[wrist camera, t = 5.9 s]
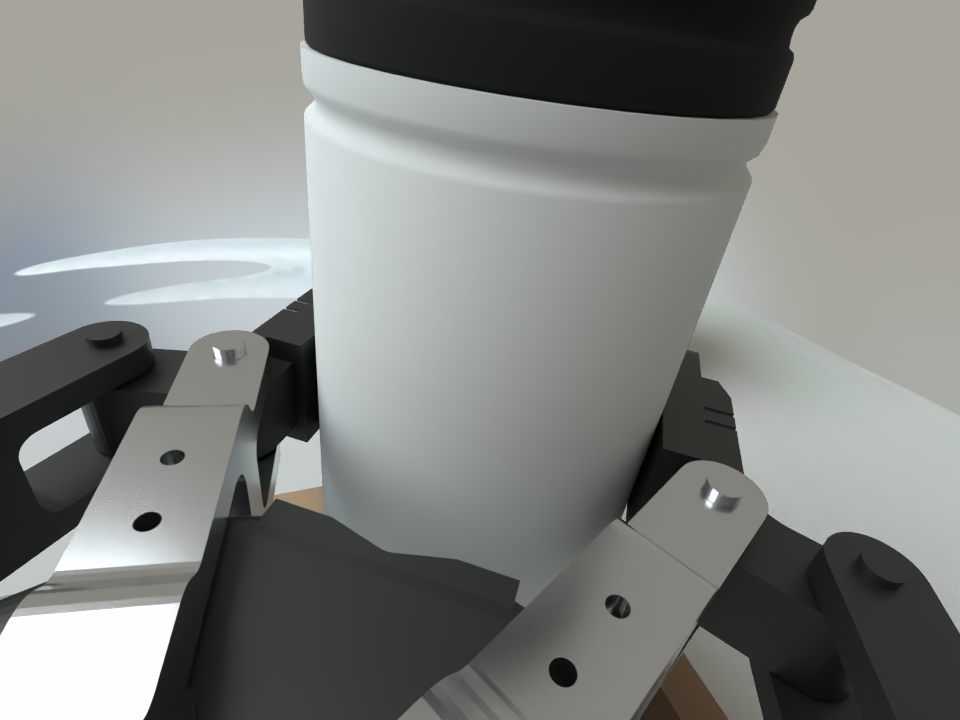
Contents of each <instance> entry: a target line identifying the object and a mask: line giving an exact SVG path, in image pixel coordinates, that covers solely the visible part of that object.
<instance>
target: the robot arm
mask: <svg viewBox="0 0 960 720" xmlns="http://www.w3.org/2000/svg"><path fill="white" fill-rule="evenodd" d="M79 408H81V409H82V411H83V414H84V417H85V420H86V423H87V426H88V428H89V431H90V433H89V434H87V435H85V436H83V437H82V438H80V439H78V440H77V441H75V442H73V443H72V444H70V445H68V446H67V447H65V448H63V449H62V450H60V451H58V452H57V453H55V454H53V455H51V456H50V457H48V458H46V459H45V460H43V461H41V462H40V463H38V464H36V465H35V466H33V467H31V468H30V469H28V470H26V471H23V469H22V467H21V465H20V462H19V457H18V456H19V451H20V448H21V446H22V445H23V443H24V442H25V441H26V440H27V439H28V438H29V437H30V436H31V435H32V434H34V433H35V432H37V431H39V430H41V429H42V428H44V427H46V426H48V425H50V424H52V423H53V422H55V421H57V420H59V419H61V418H63V417H64V416H66V415H68V414H70V413H72V412H73V411H75V410H77V409H79ZM733 415H734V413H733V407H732V402H731V398H730V396H729V395H728V394H727V392H726V391H725V390H724V389H723V387H722V386H721V385H720V383H719V382H718V381H714V380H710V379H706V378H702V377H701V372H700V361H699V354H698V353H697V352H693V351H689V350H686V353H685V356H684V358H683V361H682V363H681V366H680V368H679V371H678V374H677V376H676V379H675V381H674V384H673V386H672V389H671V392H670V394H669V397H668V399H667V402H666V405H665V407H664V409H663V412H662V414H661V417H660V419H659V422H658V425H657V427H656V430H655V432H654V435H653V438H652V440H651V443H650V445H649V448H648V450H647V453H646V456H645V458H644V461H643V463H642V466H641V468H640V471H639V474H638V476H637V479H636V481H635V484H634V486H633V489H632V492H631V494H630V497H629V499H628V502H627V513H626V522H625V521H623V520H622V519H620V518H618V519H616V520H614V521H613V522H612V523H610V524H609V525H608V526H607V527H606V528H605V529H604V530H603V531H602V532H601V533H600V534H599V535H598V536H597V537H596V538H595V539H594V540H593V541H592V542H591V543H590V544H589V545H588V546H587V547H586V548H585V549H584V550H583V551H582V552H581V553H580V554H579V555H578V556H577V557H576V558H575V559H574V560H573V561H572V562H571V563H570V564H569V565H568V566H567V567H566V568H565V569H564V570H563V571H562V572H561V573H560V574H559V575H558V576H557V577H556V578H555V579H554V580H553V581H552V582H551V583H550V584H549V585H548V586H547V587H546V588H545V589H544V590H543V591H542V592H541V593H540V594H539V595H538V596H537V597H535V598H534V599H533V600H532V601H531V602H530V603H529V604H528V605H527V606H526V607H523V606H522V605H520V604H519V603H517V602H516V601H515V599H516V595H517V591H518V587H519V584H520V580H517V579H514V578H511V577H508V576H505V575H502V574H499V573H496V572H493V571H490V570H487V569H485V568H482V567H479V566H476V565H473V564H470V563H467V562H464V561H461V560H458V559H451V558H441V557H431V556H421V555H411V554H401V553H392V552H387V551H384V550H382V549H380V548H379V547H377V546H376V545H374V544H373V543H371V542H370V541H368V540H367V539H365V538H363V537H362V536H360V535H359V534H357V533H356V532H354V531H353V530H351V529H350V528H348V527H347V526H345V525H344V524H342V523H340V522H339V521H337V520H336V519H334V518H333V517H330V516H327V515H324V514H321V513H318V512H315V511H312V510H309V509H306V508H303V507H300V506H297V505H294V504H291V503H288V502H285V501H282V500H280V499H277V498H276V499H275V501H274V502H273V497H274V491H275V485H276V479H277V473H278V467H279V461H280V445H279V443H280V442H281V441H282V440H283V439H284V438H285V437H286V436H288V437H292V438H295V439H298V440H301V441H304V442H308V441H309V440H310V439H311V438H312V436H313V435H314V434H315V433H316V432H317V431H318V430H319V428H320V424H319V404H318V384H317V364H316V345H315V325H314V305H313V289H310V290H309V291H308V292H306V293H305V294H304V295H302V296H301V297H299V298H298V299H297V301H294V302H293V303H291V304H290V305H288V306H287V307H286V310H285V309H283V310H282V311H280V312H279V313H277V314H276V315H275V316H273V317H272V318H271V319H269V320H268V321H267V322H265V323H264V324H262V325H261V326H260V327H258V328H257V329H255V330H254V331H253V332H248V331H238V330H232V331H222V332H217V333H213V334H210V335H207V336H204V337H202V338H201V339H199V340H197V341H196V342H194V343H193V345H191V347H190V348H189V350H188V351H180V350H165V349H152V346H151V341H150V337H149V333H148V331H147V329H146V328H145V327H143V326H141V325H139V324H136V323H133V322H127V321H108V322H100V323H95V324H91V325H87V326H84V327H81V328H79V329H76V330H74V331H72V332H69V333H67V334H65V335H62V336H60V337H58V338H55V339H53V340H51V341H48V342H46V343H43V344H41V345H39V346H36V347H34V348H32V349H29V350H27V351H25V352H23V353H20V354H18V355H16V356H13V357H11V358H8V359H6V360H4V361H1V362H0V581H2V580H3V579H5V578H6V577H7V576H9V575H10V574H12V573H13V572H14V571H16V570H17V569H19V568H20V567H21V566H23V565H24V564H25V563H27V562H28V561H30V560H31V559H32V558H34V557H35V556H37V555H38V554H39V553H41V552H42V551H43V550H45V549H46V548H48V547H49V546H50V545H52V544H53V543H55V542H56V541H57V540H59V539H60V538H62V537H63V536H64V535H66V534H67V533H68V532H70V531H71V530H73V529H74V528H75V527H77V526H78V527H77V529H76V531H75V533H74V535H73V536H72V538H71V540H70V542H69V544H68V546H67V548H66V550H65V552H64V554H63V556H62V558H61V560H60V562H59V564H58V566H57V567H56V569H55V571H54V573H53V575H52V576H51V578H50V579H49V581H47V582H45V583H42V584H40V585H37V586H35V587H32V588H29V589H27V590H24V591H22V592H19V593H17V594H14V595H11V596H9V597H6V598H4V599H1V600H0V720H639V719H640V718H641V716H642V715H643V713H644V711H645V710H646V708H647V707H648V705H649V703H650V702H651V700H652V699H653V697H654V696H655V694H656V693H657V691H658V690H659V688H660V686H661V685H662V683H663V682H664V680H665V679H666V677H667V676H668V674H669V673H670V671H671V670H672V668H673V667H674V665H675V663H676V662H677V660H678V659H679V657H680V656H681V654H682V653H683V651H684V650H685V648H686V647H687V645H688V644H689V642H690V640H691V639H692V637H693V636H694V634H695V633H696V631H697V630H698V628H699V627H702V628H703V629H705V630H707V631H708V632H710V633H711V634H713V635H714V636H716V637H717V638H719V639H721V640H722V641H724V642H725V643H727V644H728V645H730V646H732V647H733V648H735V649H736V650H738V651H739V652H741V653H742V654H744V655H746V656H747V657H749V660H750V666H751V670H752V674H753V678H754V682H755V686H756V690H757V694H758V698H759V702H760V706H761V710H762V714H763V718H764V720H960V633H959V632H958V630H957V628H956V627H955V625H954V623H953V622H952V620H951V618H950V617H949V615H948V613H947V612H946V610H945V608H944V607H943V605H942V603H941V602H940V600H939V598H938V597H937V595H936V593H935V592H934V590H933V588H932V587H931V585H930V583H929V582H928V581H927V579H926V578H925V576H924V575H923V574H922V573H921V571H920V570H919V569H918V568H917V567H916V566H915V565H914V564H913V563H912V562H911V561H909V560H908V559H907V558H906V557H905V556H903V555H902V554H901V553H899V552H898V551H896V550H895V549H893V548H892V547H890V546H888V545H887V544H885V543H883V542H881V541H879V540H877V539H874V538H872V537H869V536H866V535H863V534H859V533H853V532H840V533H835V534H833V535H831V536H830V537H829V538H828V539H827V540H826V541H825V543H824V544H823V545H821V544H819V543H817V542H815V541H813V540H811V539H809V538H807V537H805V536H803V535H801V534H800V533H798V532H796V531H794V530H792V529H790V528H788V527H786V526H785V525H783V524H781V523H780V522H778V521H777V520H775V519H774V518H772V517H771V516H770V515H769V514H768V503H767V500H766V498H765V496H764V494H763V493H762V491H761V490H760V489H759V487H758V486H757V485H756V484H755V483H754V482H753V481H752V480H750V479H749V478H748V477H747V476H745V475H744V472H743V466H742V460H741V454H740V448H739V443H738V437H737V431H735V429H736V425H735V419H734V418H733Z"/></svg>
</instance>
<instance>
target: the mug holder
mask: <svg viewBox="0 0 960 720" xmlns="http://www.w3.org/2000/svg"><path fill="white" fill-rule="evenodd" d="M276 498H277V499H280V500H282V501H285V502H288V503H291V504H294V505H297V506H300V507H303V508H306V509H309V510H312V511H315V512H318V513H321V514H324V504H323V486H321V487H316V488H311V489H305V490H300V491H295V492H289V493H284V494H278V495H274V497H273V502H274V501H275V499H276ZM639 720H728V719H727V717H726V716H725V714H724V713H723V711H722V710H721V708H720V707H719V705H718V704H717V702H716V701H715V699H714V698H713V696H712V695H711V694H710V692H709V691H708V689H707V688H706V686H705V685H704V683H703V682H702V680H701V679H700V677H699V676H698V674H697V673H696V671H695V670H694V668H693V667H692V665H691V664H690V662H689V661H688V660H687V658H686V657H685V655H684V654H683V653H682V654H681V656H680V657H679V659H678V660H677V662H676V663H675V665H674V667H673V668H672V670H671V671H670V673H669V674H668V676H667V677H666V679H665V680H664V682H663V683H662V685H661V686H660V688H659V690H658V691H657V693H656V694H655V696H654V697H653V699H652V700H651V702H650V703H649V705H648V707H647V708H646V710H645V711H644V713H643V715H642V716H641V718H640V719H639Z"/></svg>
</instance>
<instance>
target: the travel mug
mask: <svg viewBox="0 0 960 720" xmlns="http://www.w3.org/2000/svg"><path fill="white" fill-rule="evenodd" d="M816 1H817V0H303V10H304V33H305V41H302V42H300V46H301V66H302V78H303V82H304V85H305V87H306V89H307V90H308V91H309V92H310V93H311V94H312V95H313V96H314V101H313V103H312V104H311V105H309V106H308V107H307V108H306V110H305V113H304V126H305V144H306V145H305V146H306V165H307V183H308V184H307V185H308V205H309V225H310V245H311V265H312V285H313V305H314V325H315V345H316V364H317V384H318V404H319V424H320V444H321V464H322V484H323V504H324V515H327V516H330V517H333V518H334V519H336V520H337V521H339V522H340V523H342V524H344V525H345V526H347V527H348V528H350V529H351V530H353V531H354V532H356V533H357V534H359V535H360V536H362V537H363V538H365V539H367V540H368V541H370V542H371V543H373V544H374V545H376V546H377V547H379V548H380V549H382V550H384V551H387V552H392V553H401V554H411V555H421V556H431V557H441V558H451V559H458V560H461V561H464V562H467V563H470V564H473V565H476V566H479V567H482V568H485V569H487V570H490V571H493V572H496V573H499V574H502V575H505V576H508V577H511V578H514V579H517V580H520V584H519V587H518V591H517V595H516V599H515V601H516V602H517V603H519V604H520V605H522V606H523V607H526V606H527V605H528V604H529V603H530V602H531V601H532V600H533V599H534V598H535V597H537V596H538V595H539V594H540V593H541V592H542V591H543V590H544V589H545V588H546V587H547V586H548V585H549V584H550V583H551V582H552V581H553V580H554V579H555V578H556V577H557V576H558V575H559V574H560V573H561V572H562V571H563V570H564V569H565V568H566V567H567V566H568V565H569V564H570V563H571V562H572V561H573V560H574V559H575V558H576V557H577V556H578V555H579V554H580V553H581V552H582V551H583V550H584V549H585V548H586V547H587V546H588V545H589V544H590V543H591V542H592V541H593V540H594V539H595V538H596V537H597V536H598V535H599V534H600V533H601V532H602V531H603V530H604V529H605V528H606V527H607V526H608V525H609V524H610V523H612V522H613V521H614V520H616V519H618V518H620V519H621V518H622V515H623V513H624V510H625V508H626V505H627V502H628V499H629V497H630V494H631V492H632V489H633V486H634V484H635V481H636V479H637V476H638V474H639V471H640V468H641V466H642V463H643V461H644V458H645V456H646V453H647V450H648V448H649V445H650V443H651V440H652V438H653V435H654V432H655V430H656V427H657V425H658V422H659V419H660V417H661V414H662V412H663V409H664V407H665V405H666V402H667V399H668V397H669V394H670V392H671V389H672V386H673V384H674V381H675V379H676V376H677V374H678V371H679V368H680V366H681V363H682V361H683V358H684V356H685V353H686V350H687V348H688V345H689V343H690V340H691V338H692V335H693V332H694V330H695V327H696V325H697V322H698V319H699V317H700V314H701V312H702V309H703V307H704V304H705V301H706V299H707V296H708V294H709V291H710V288H711V286H712V283H713V281H714V278H715V276H716V273H717V271H718V268H719V265H720V263H721V260H722V258H723V255H724V252H725V250H726V247H727V245H728V242H729V240H730V237H731V234H732V232H733V229H734V227H735V224H736V222H737V219H738V216H739V214H740V211H741V209H742V206H743V204H744V201H745V198H746V196H747V193H748V190H749V188H750V186H751V183H752V179H751V175H750V173H749V171H748V169H747V167H746V163H747V162H748V161H750V160H752V159H753V158H755V157H757V156H759V154H760V153H761V151H762V150H763V148H764V147H765V145H766V144H767V142H768V139H769V137H770V134H771V131H772V129H773V126H774V124H775V121H776V118H777V116H778V113H777V112H776V111H775V110H774V109H775V108H776V105H777V103H778V100H779V97H780V94H781V92H782V89H783V87H784V84H785V82H786V79H787V76H788V74H789V71H790V69H791V66H792V64H793V61H794V53H793V52H792V51H791V50H790V49H789V46H790V41H791V37H792V34H793V32H794V29H795V27H796V25H797V24H798V23H799V21H800V20H801V19H803V18H805V17H806V16H808V15H809V14H810V13H811V12H812V10H813V9H814V6H815V3H816Z"/></svg>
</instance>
